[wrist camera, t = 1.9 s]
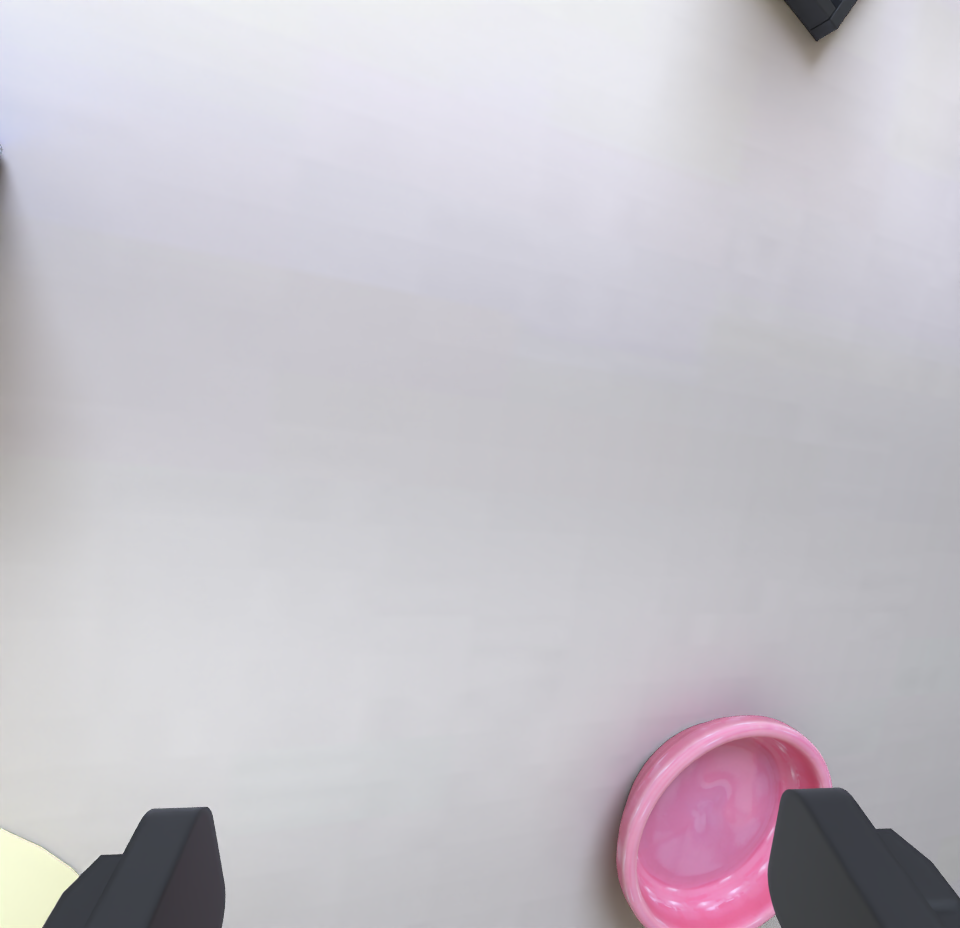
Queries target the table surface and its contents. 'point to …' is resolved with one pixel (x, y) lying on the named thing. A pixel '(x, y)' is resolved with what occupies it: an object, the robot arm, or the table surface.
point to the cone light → (29, 882)
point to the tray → (821, 14)
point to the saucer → (711, 822)
